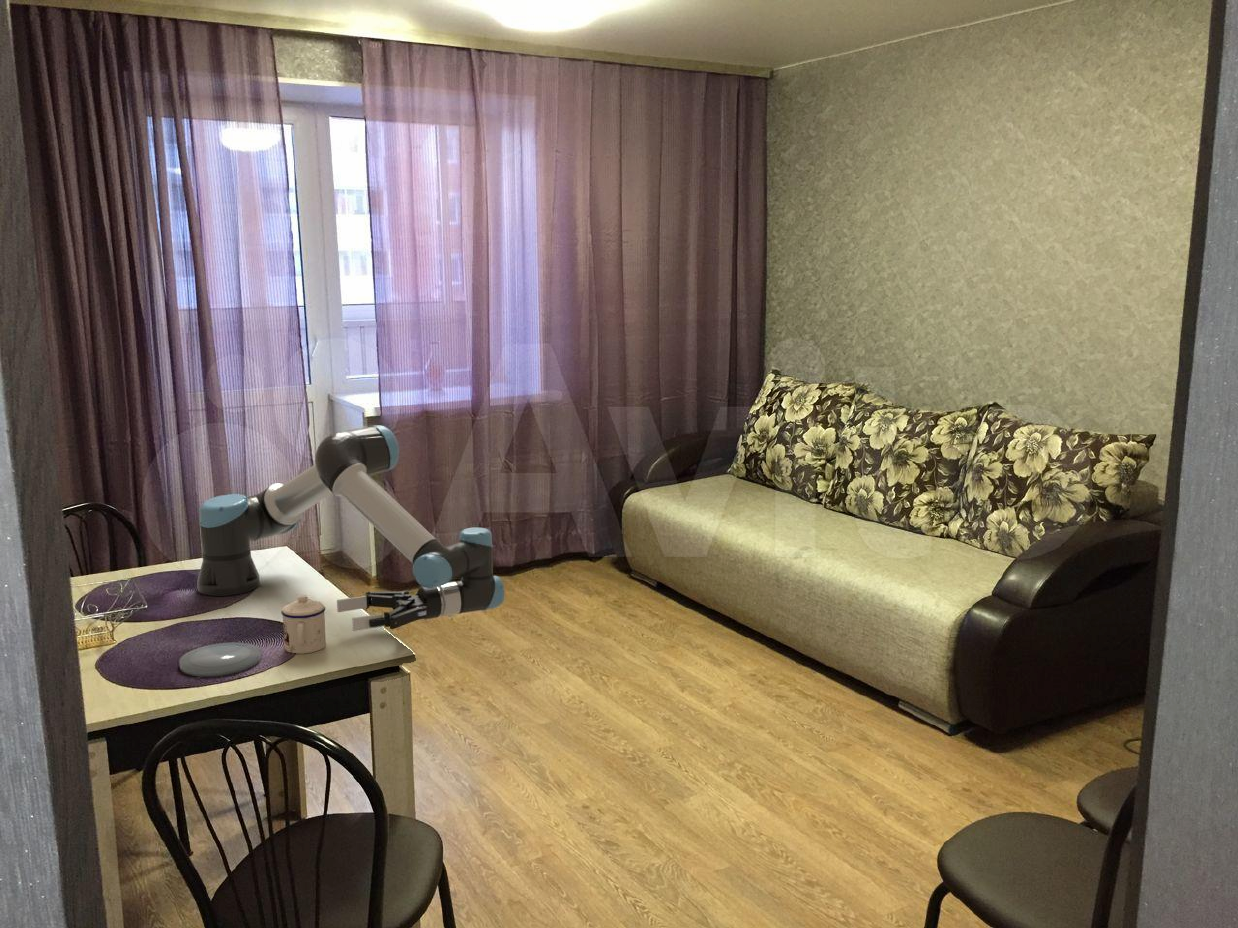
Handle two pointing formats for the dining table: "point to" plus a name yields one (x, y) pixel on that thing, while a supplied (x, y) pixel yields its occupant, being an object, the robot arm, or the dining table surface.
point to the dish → (220, 659)
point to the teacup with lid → (304, 626)
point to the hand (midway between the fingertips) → (344, 615)
